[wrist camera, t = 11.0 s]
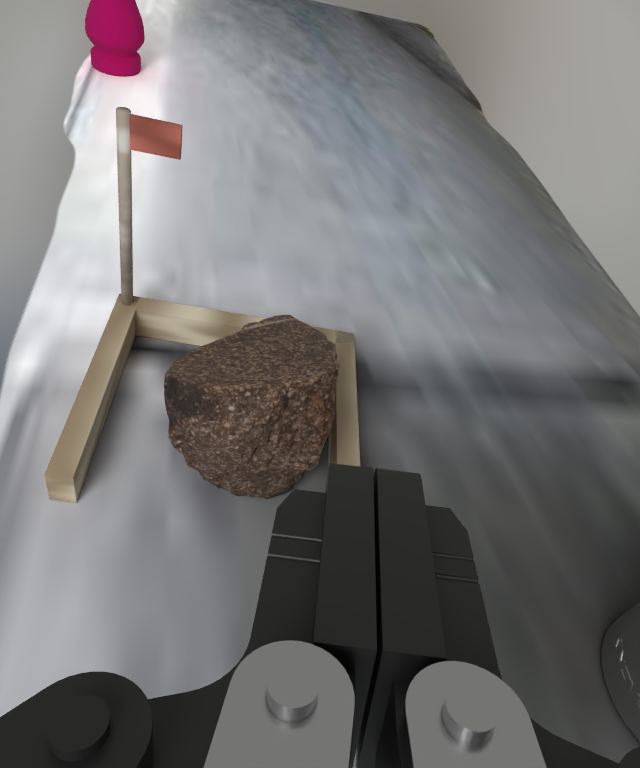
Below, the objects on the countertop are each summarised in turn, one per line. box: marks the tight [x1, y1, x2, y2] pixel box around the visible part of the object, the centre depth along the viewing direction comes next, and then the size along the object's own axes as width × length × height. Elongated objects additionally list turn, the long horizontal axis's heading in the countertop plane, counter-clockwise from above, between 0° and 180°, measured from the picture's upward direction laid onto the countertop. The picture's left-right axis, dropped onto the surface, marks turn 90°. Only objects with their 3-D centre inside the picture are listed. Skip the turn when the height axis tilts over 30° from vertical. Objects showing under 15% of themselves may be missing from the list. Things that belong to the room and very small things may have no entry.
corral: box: [45, 107, 360, 503], centre depth 36 cm, size 18×16×16 cm
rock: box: [164, 315, 340, 499], centre depth 36 cm, size 12×10×10 cm
